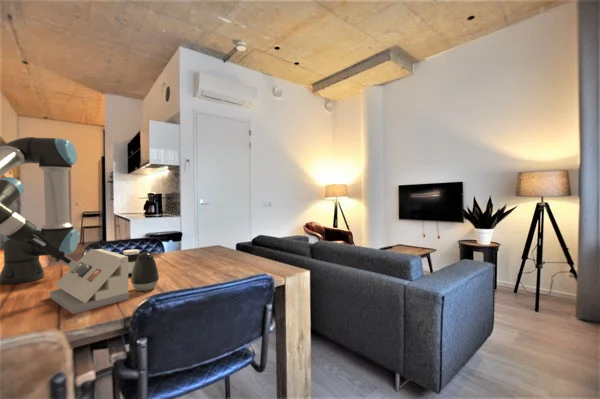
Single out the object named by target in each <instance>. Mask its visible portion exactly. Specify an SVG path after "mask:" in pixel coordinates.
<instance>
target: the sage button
mask: <svg viewBox="0 0 600 399" xmlns="http://www.w3.org/2000/svg"><path fill="white" fill-rule="evenodd" d="M82 265H83V264H82V263H80V264H79V265H78V266H77V267H76V268H75V269H74V270H72V272H73V273H75V272H76V271H77V269H78V268H79V267H80V266H82Z"/></svg>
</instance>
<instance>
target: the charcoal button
mask: <svg viewBox="0 0 600 399" xmlns="http://www.w3.org/2000/svg"><path fill="white" fill-rule="evenodd" d="M90 269H91V267H89V266H88V265H87V264H83V265H82V266H80V267H79V268H78V269H77V271H76V273H77V274H79V275H80V276H82V277H83V276H84V275H85V274H86V273H87V272H88V271H89V270H90Z"/></svg>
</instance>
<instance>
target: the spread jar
mask: <svg viewBox="0 0 600 399" xmlns="http://www.w3.org/2000/svg"><path fill="white" fill-rule="evenodd" d="M122 253H123V254H122V255H124V256H128V277H131V276H132V271H133V267H134V264H135V261H136V259H137V258H138V256H139V255H140V254H141V253H140V250H139V249H126V250H123V251H122Z"/></svg>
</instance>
